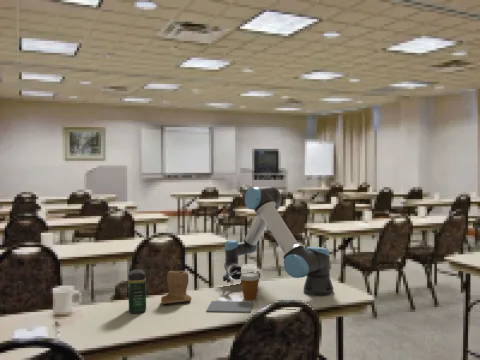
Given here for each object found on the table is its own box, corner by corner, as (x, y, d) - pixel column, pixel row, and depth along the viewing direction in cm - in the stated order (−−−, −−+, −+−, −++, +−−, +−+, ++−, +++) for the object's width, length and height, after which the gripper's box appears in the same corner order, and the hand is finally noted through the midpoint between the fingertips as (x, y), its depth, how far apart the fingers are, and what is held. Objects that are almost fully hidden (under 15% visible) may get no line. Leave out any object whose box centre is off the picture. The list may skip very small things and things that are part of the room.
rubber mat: (253, 302, 207) (253, 301, 207) (250, 312, 193) (250, 311, 193) (211, 302, 209) (211, 300, 209) (206, 311, 195) (206, 310, 195)
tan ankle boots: (188, 296, 219) (187, 267, 219) (193, 303, 208) (192, 272, 207) (158, 299, 214) (157, 269, 214) (161, 307, 203) (160, 275, 203)
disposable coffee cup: (260, 301, 209) (259, 276, 209) (240, 301, 209) (240, 276, 209) (259, 295, 219) (259, 271, 218) (240, 295, 219) (240, 272, 218)
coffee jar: (147, 312, 195) (146, 272, 195) (128, 314, 193) (127, 273, 193) (146, 306, 205) (145, 267, 204) (128, 308, 203) (127, 268, 202)
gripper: (257, 276, 244) (269, 286, 224) (214, 279, 238) (221, 290, 218) (257, 263, 244) (268, 271, 224) (213, 266, 238) (221, 275, 218)
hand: (245, 281), depth 221 cm, fingers open, 13 cm apart
